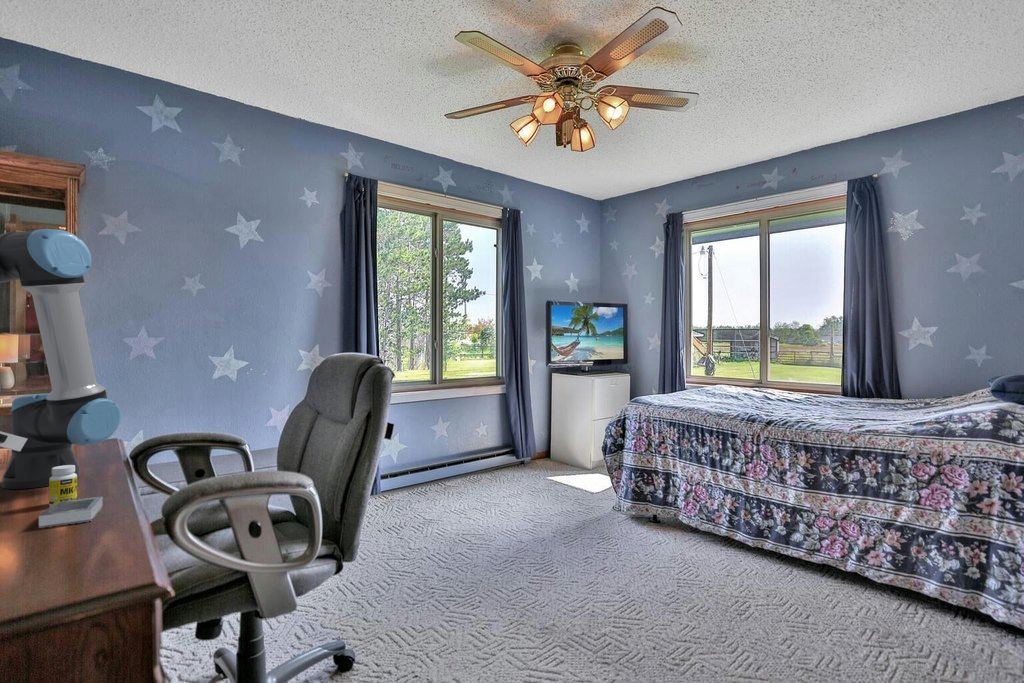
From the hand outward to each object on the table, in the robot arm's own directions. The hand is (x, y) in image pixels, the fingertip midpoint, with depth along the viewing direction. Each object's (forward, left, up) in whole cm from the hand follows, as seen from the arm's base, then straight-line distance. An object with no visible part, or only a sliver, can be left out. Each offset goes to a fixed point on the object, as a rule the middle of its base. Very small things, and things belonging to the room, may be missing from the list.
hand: (10, 446), depth 108 cm
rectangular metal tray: (+11, +13, -14) cm, 22 cm away
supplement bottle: (-2, +8, -15) cm, 17 cm away
